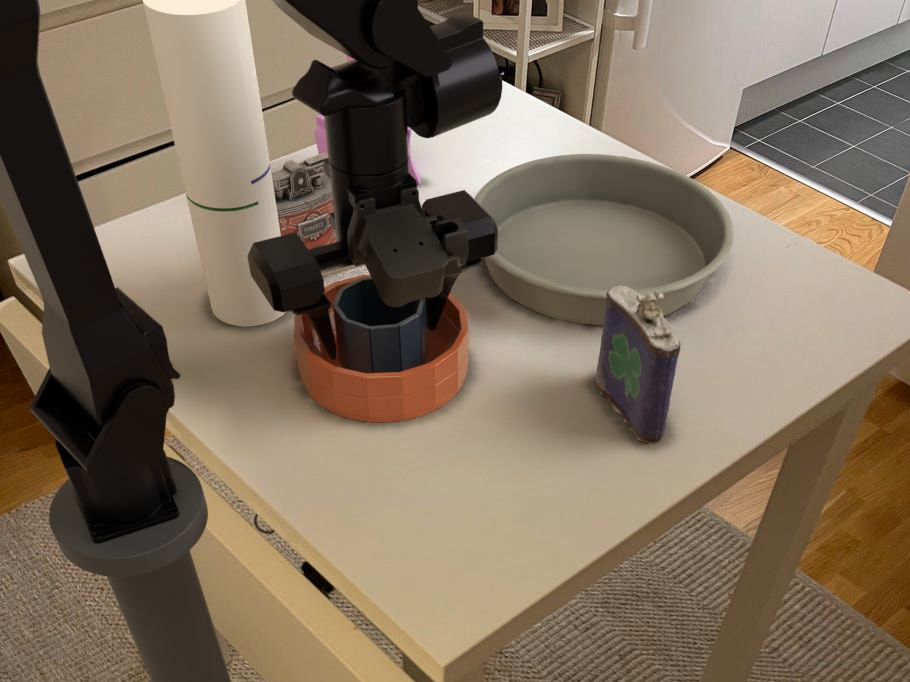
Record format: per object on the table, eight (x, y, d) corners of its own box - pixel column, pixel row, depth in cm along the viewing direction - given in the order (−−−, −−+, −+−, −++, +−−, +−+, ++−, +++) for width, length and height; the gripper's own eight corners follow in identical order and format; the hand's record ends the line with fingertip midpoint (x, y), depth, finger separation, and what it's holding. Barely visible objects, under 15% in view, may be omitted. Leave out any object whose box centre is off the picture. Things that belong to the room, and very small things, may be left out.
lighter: (284, 290, 92) (268, 185, 84) (264, 274, 93) (246, 169, 86) (356, 260, 95) (346, 157, 87) (335, 245, 97) (325, 141, 89)
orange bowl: (339, 442, 79) (333, 397, 76) (276, 344, 87) (268, 299, 83) (496, 392, 83) (497, 346, 80) (423, 303, 91) (421, 258, 87)
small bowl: (362, 400, 82) (356, 338, 77) (327, 350, 86) (320, 288, 81) (441, 376, 84) (440, 314, 79) (403, 328, 88) (400, 266, 83)
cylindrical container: (306, 296, 91) (264, -11, 72) (255, 335, 88) (197, 23, 68) (246, 272, 94) (189, -32, 74) (194, 309, 90) (120, -1, 70)
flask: (589, 380, 85) (604, 266, 76) (619, 372, 85) (637, 258, 77) (642, 448, 79) (665, 334, 71) (674, 439, 80) (700, 324, 72)
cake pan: (579, 372, 85) (584, 327, 82) (418, 243, 97) (417, 199, 94) (778, 279, 94) (791, 235, 91) (609, 172, 106) (614, 129, 103)
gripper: (285, 243, 64) (313, 432, 76) (538, 179, 69) (526, 365, 81) (228, 165, 70) (263, 352, 82) (465, 111, 75) (464, 294, 87)
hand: (382, 342), depth 83 cm, fingers open, 9 cm apart
